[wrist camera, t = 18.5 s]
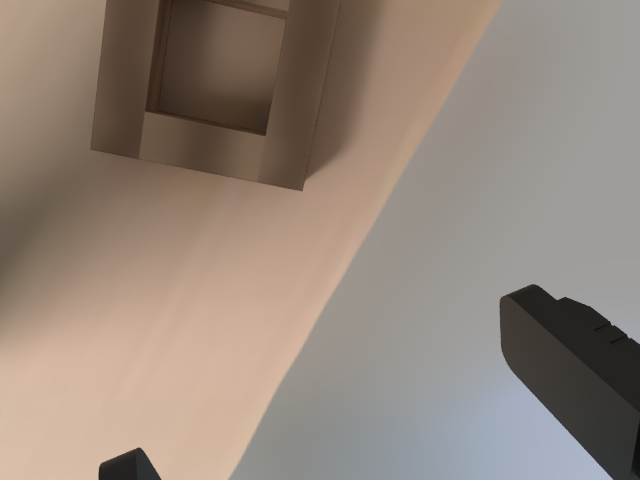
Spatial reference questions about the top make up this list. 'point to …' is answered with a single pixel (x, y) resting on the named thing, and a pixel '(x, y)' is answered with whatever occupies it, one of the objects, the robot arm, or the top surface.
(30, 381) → the top surface
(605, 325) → the robot arm
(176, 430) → the top surface
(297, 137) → the box
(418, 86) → the top surface
